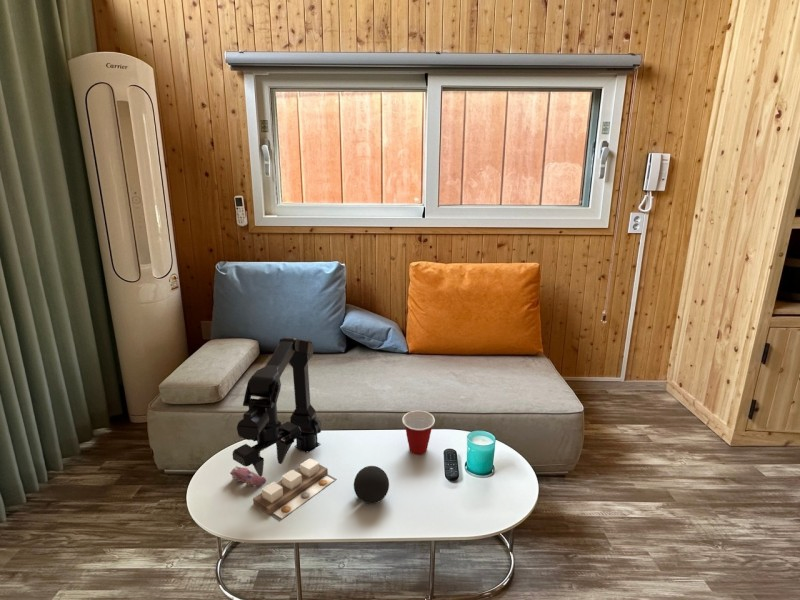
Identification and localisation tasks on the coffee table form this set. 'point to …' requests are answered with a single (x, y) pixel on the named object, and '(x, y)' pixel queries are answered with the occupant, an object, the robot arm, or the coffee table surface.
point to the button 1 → (272, 492)
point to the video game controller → (247, 476)
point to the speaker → (371, 484)
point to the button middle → (291, 479)
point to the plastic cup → (418, 430)
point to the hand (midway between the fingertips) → (270, 469)
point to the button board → (295, 494)
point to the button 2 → (309, 467)
